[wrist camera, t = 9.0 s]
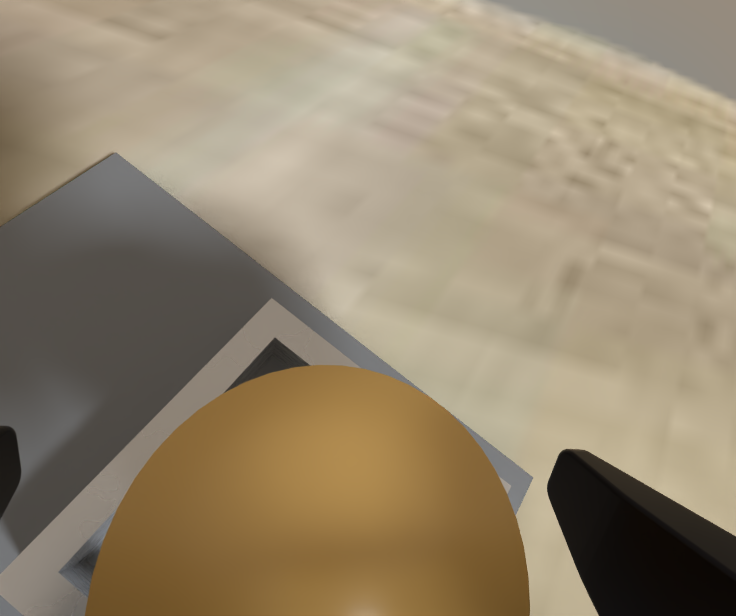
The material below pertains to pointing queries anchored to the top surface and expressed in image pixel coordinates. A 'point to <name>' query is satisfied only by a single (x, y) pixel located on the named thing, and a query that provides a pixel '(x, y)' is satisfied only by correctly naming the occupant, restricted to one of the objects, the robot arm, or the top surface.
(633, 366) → the top surface
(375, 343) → the top surface
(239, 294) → the slate panel
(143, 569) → the orange and white cylinder
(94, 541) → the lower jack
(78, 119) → the top surface
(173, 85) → the top surface
